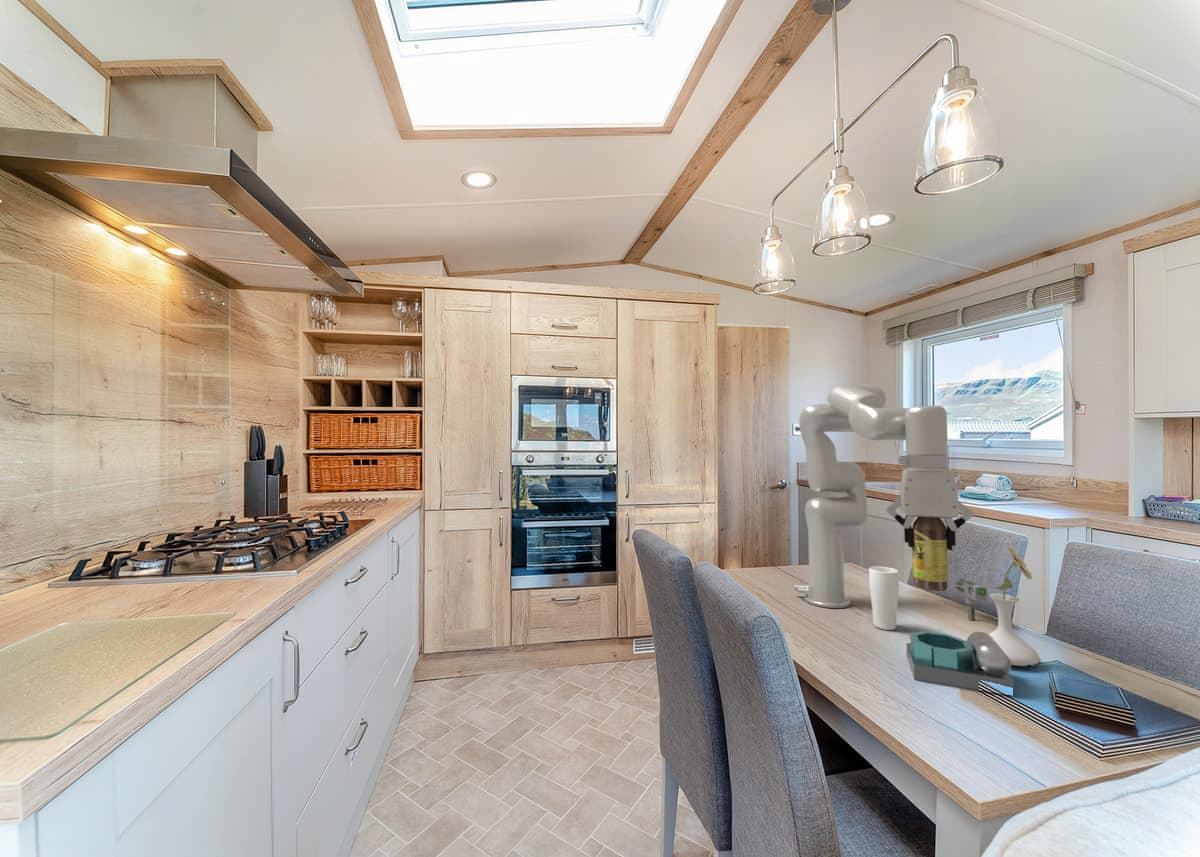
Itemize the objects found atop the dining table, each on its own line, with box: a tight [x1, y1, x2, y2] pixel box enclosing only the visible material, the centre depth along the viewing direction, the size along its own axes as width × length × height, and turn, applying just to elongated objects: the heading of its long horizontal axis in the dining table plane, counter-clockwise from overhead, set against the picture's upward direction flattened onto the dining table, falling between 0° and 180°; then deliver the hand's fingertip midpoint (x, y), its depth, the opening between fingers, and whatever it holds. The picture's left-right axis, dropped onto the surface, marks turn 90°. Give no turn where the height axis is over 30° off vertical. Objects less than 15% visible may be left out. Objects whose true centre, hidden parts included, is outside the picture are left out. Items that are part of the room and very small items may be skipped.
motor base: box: [906, 630, 1015, 692], centre depth 102 cm, size 16×12×8 cm
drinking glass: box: [868, 565, 900, 631], centre depth 128 cm, size 7×7×15 cm
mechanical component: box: [955, 578, 988, 621], centre depth 133 cm, size 3×10×10 cm, turn 174°
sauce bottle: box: [911, 517, 949, 592], centre depth 105 cm, size 6×6×20 cm
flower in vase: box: [988, 544, 1041, 667], centre depth 109 cm, size 13×11×25 cm
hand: (929, 546), depth 105 cm, fingers closed on sauce bottle, 6 cm apart
